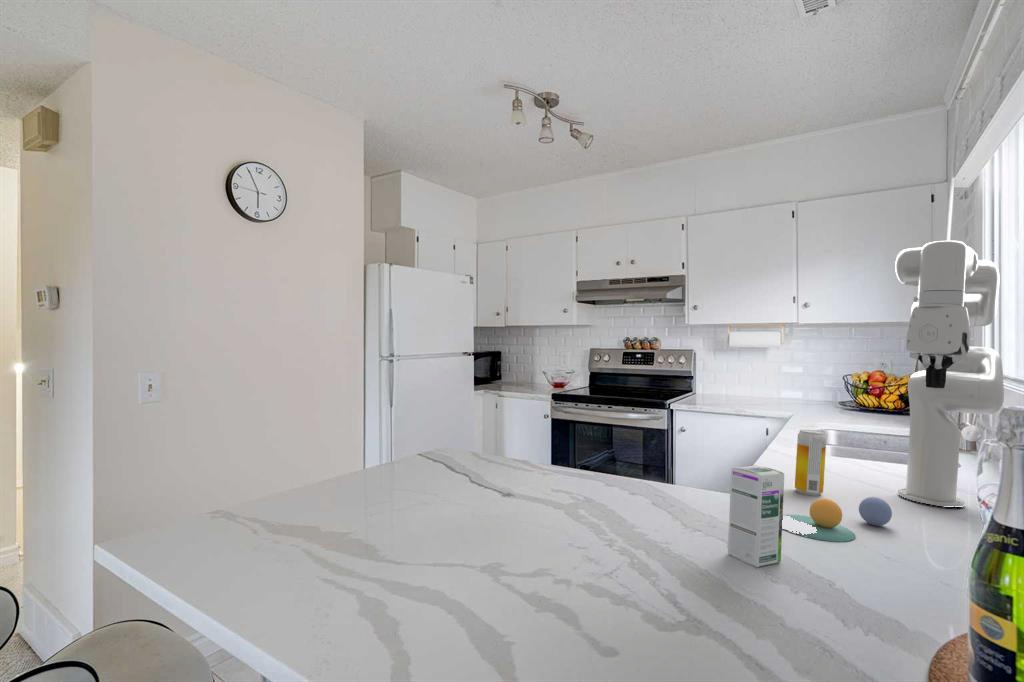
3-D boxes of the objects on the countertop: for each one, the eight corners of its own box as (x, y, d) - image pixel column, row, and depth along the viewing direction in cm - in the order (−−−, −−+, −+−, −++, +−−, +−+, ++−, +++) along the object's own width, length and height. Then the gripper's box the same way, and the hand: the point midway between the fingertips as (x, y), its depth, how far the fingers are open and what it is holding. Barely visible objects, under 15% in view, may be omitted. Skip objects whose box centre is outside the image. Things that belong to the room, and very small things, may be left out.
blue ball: (860, 491, 110) (853, 517, 109) (865, 493, 105) (858, 520, 104) (891, 502, 107) (884, 528, 107) (898, 504, 102) (890, 532, 102)
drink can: (815, 490, 131) (819, 430, 131) (827, 497, 125) (831, 434, 125) (790, 488, 131) (793, 428, 131) (801, 495, 125) (804, 432, 125)
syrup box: (757, 568, 81) (762, 474, 81) (725, 553, 86) (731, 465, 86) (781, 563, 83) (786, 472, 83) (749, 549, 89) (754, 463, 89)
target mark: (773, 511, 111) (773, 510, 111) (851, 525, 104) (851, 524, 104) (770, 530, 99) (770, 529, 99) (859, 548, 92) (859, 547, 92)
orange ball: (816, 495, 107) (802, 518, 106) (821, 490, 102) (806, 513, 101) (844, 512, 104) (830, 535, 103) (850, 507, 99) (836, 532, 98)
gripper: (892, 301, 116) (887, 383, 117) (966, 298, 102) (961, 391, 102) (917, 303, 119) (912, 384, 119) (994, 300, 104) (988, 392, 105)
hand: (935, 387), depth 111 cm, fingers closed
